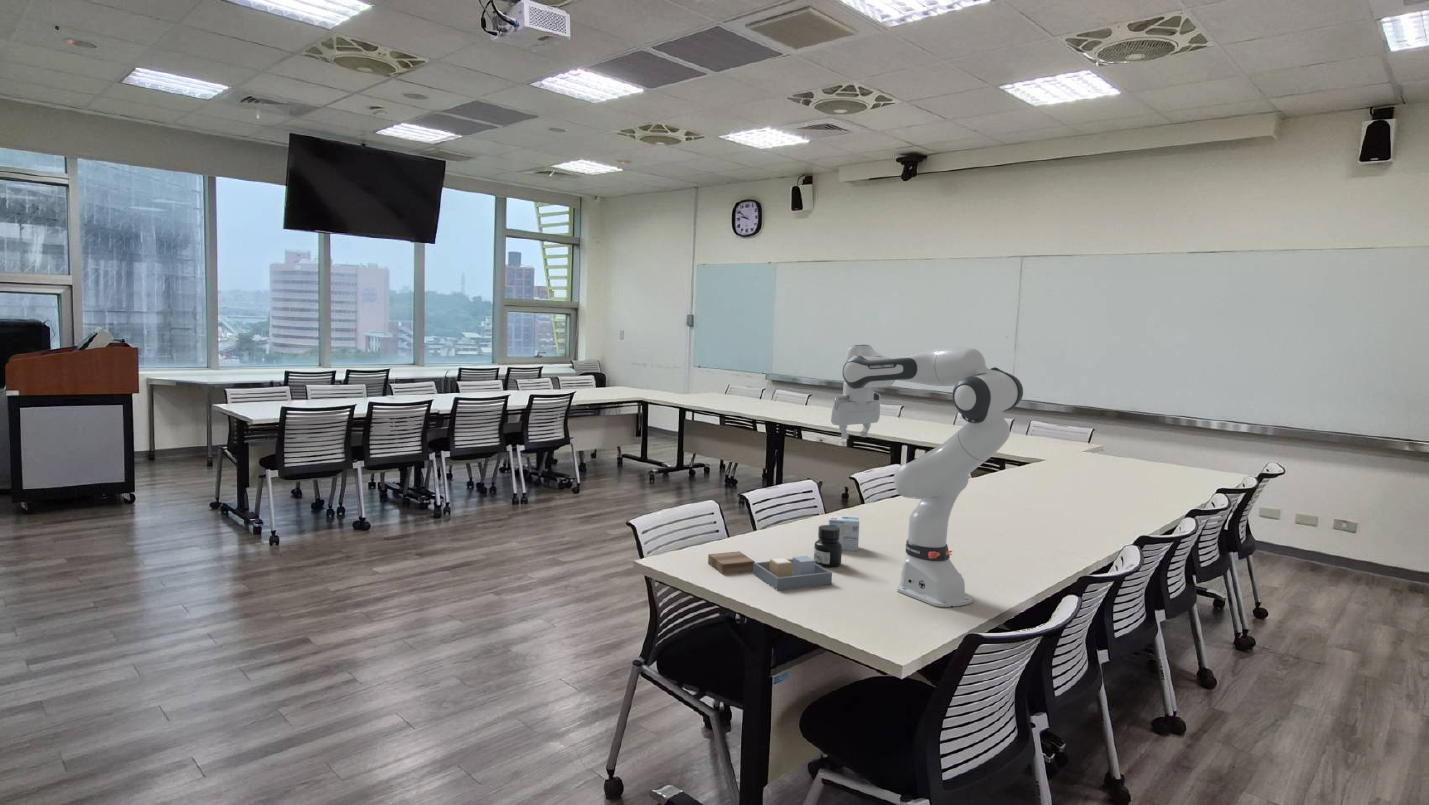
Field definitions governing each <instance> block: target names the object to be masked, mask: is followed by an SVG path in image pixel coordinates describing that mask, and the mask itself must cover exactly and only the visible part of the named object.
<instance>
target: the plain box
mask: <svg viewBox="0 0 1429 805" xmlns="http://www.w3.org/2000/svg"><path fill="white" fill-rule="evenodd" d="M792 559H793V564H792V576H798V575H807V574H815V560H814V558H812V557H810V556H808V555H804V556H793V557H792Z"/></svg>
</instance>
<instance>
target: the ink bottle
mask: <svg viewBox="0 0 1429 805" xmlns="http://www.w3.org/2000/svg"><path fill="white" fill-rule="evenodd" d="M839 535H840V528H839V527H837V526H832V525H828V524H824V525H823V524H822V525H819V526H818V533H817V536H818V539H817V540H816V541H815V542H814V547H813V560H815V563H816V564H818V565H819V566H821V567H823V568H835V567H839V566H841V564H842V556H843V555H842V554H843V550H842V545H841V543H840V542H839V541H838V540H839Z"/></svg>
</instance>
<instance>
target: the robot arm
mask: <svg viewBox="0 0 1429 805" xmlns="http://www.w3.org/2000/svg"><path fill="white" fill-rule="evenodd" d="M842 378H843V380H844V382H843V387H842V388H843V390H842V395H839V396H837V398H835V400H834V403H833V405H832V410H831V417H830V421H831V422H830V423H831V424H832V425H833V426H838V428H839V431H840V433H841V436H840V437H841V439H843V440H849V437H850V436H849V434H850V433H848V432H847V429H848V426H850V425H851V426H852V425H862V427H863V428H862V430H860V435H859V436H860V437H861V438H867V437H868V432H869V431H870V429H871V426H872V425H871V424H875V423H878V422H879V420H880V415H881V414H880V413H881V403H880V401H881V399H882V396H881V394H880V393H878V392H877V391H874V390H872V388H887V387H890V386H892V385H893V384H894V383H895V381H901V382H909V383H916V384H920V385H926V386H933V387H953V386H954V387H953V389H952V402H953V404H954V407H955V409H956V410H957V412H958V413H959V414H960V415H961V417H962V420H964V421H966V422H967V423H966V424H964V425H963V426H962V427H961V428H960V429H959V430H957V432H955V433H954V434H952V436H950V437H949V438H948V439H947V440H945V441H944V442H943V443H941V444H940V445H938V446H937V447H935V448H933V449H932V448H931V450H929V451H927V452H925V453H924V454H922V455H920V456H918V457H917V458H915V459H913V460H911V461H910V462H907V463H905V464H902V465H900V466H899V467H898V468H896V470H895V471H894V475H893V485H894V488H895V490H896V492H897V493H898V494H899V495H900V496H901V497H902V498H906V499H912V500H913V499H914V500H920V501H919V503H918V505H917V506H916V507H915V508H914V509H913V510H912V511H911V513H910V515H909V518H908V520H909V521H908V522H909V523H908V536H907V540H906V542H905V543H906V544H905V553H906V554H905V555H906V556H905V559H904V562H903V565H902V570H901V575H900V576H901V577H900V582H899V585H898V586H897V589H896V590H897V592H898V593H901V594H903V595H906V596H909V597H911V598H914V599H916V600H919V601H922V602H924V603H927V604H929V605H931V606H934V607H939V608H941V607H942V608H950V607H951V606H953V607H960V606H965V605H966V606H967V605H970V604H972V603H973V602H972V601H974V599H973V597H972V596H971V595H969V594H967V593H966V586H965V585H966V584H965V579H964V578H963V576H962V575H963V574H961V573H960V572H959V571H958V569H957V567H955V565H954V564H953V562H952V561H951V560H950V558H951V557H950V556H951V555H953V553H952V552H953V550H949V546H948V543H947V538H948V530H949V529H948V528H949V520H950V516H951V512H952V510H953V507H954V506H955V503H956V500H957V498H958V497H959V495H960V494H961V493H962V491H964V490H965V489H966V488H967V485H968V483H969V475H970V473H972V472H973V471H975V470H976V469H977V468H978V467H980V466H982V464H984V463H985V462H987V461H988V460H989V459H990V458H991V457H993V456H994V455H995V454H996V453H997V452H998V451H999V450H1000V449H1001V448H1002V447H1003V446H1004V445H1005V443H1006V442H1007V441H1008V440H1009V438H1010V435H1011V434H1010V433H1011V429H1010V426H1009V423H1008V422H1007V420H1006V419H1005V418H1004V416H1003V415H1004V414H1003V413H1004V412H1006V411H1010V410H1011V409H1013V408H1015V407H1016V406H1017V405H1018V404H1020V402H1021V401H1022V399H1023V396H1024V387H1023V384H1022V382H1021V381H1020V380H1019V378H1017V376H1014V375H1012V374H1011V373H1008V372H1006V371H1003V370H1001V369H1000V368H998V367H996V366H995V367H991V368H988V366H987V365H986V359H985V357H984V355H983V354H982V352H980V351H979V349H976V348H972V347H965V346H950V347H949V346H947V347H940V348H939V347H938V348H935V349H930V350H929V349H928V350H925V351H921V352H917V353H915V354H914V353H913V354H910V355H906V356H901V357H898V358H891V357H887V356H885V355H882V354H881V353H879V352H877V351H876V350H874V348H873V347H872V346H871V345H869V344H857V345H856V344H855V345H852V346H849V347H848V349H847V351H846V354H845V358H844V365H843V368H842ZM951 608H952V607H951Z"/></svg>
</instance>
